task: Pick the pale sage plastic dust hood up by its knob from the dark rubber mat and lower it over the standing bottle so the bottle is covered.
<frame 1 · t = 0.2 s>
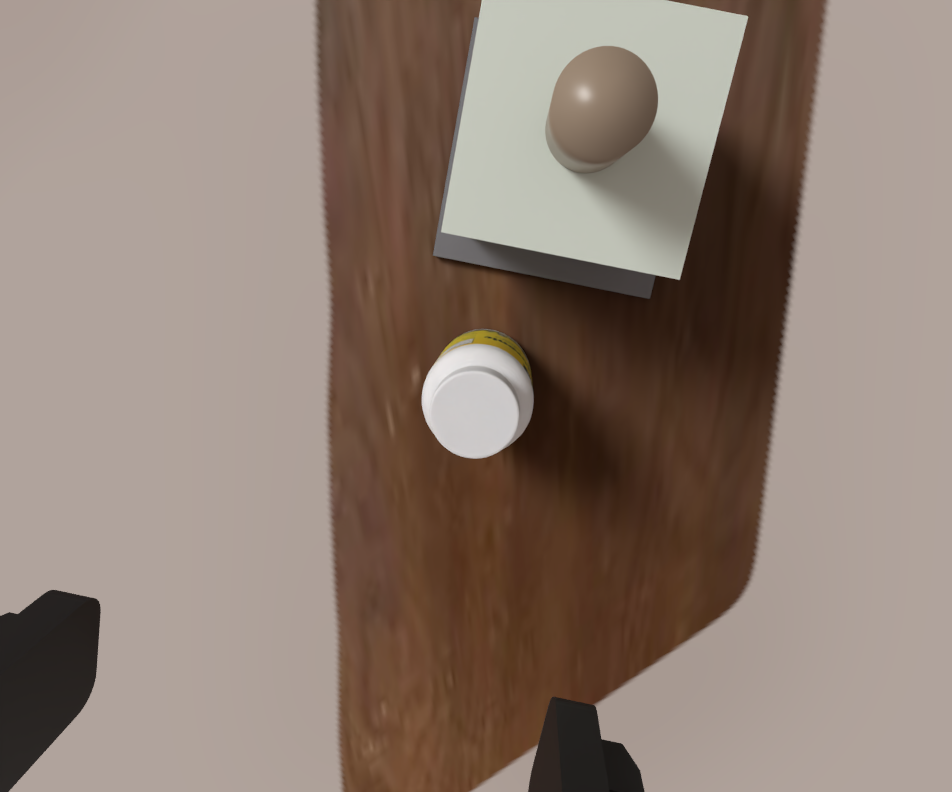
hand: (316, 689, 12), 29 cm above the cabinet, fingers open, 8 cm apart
dust hood: (565, 163, 36), point 1 cm above the cabinet, touching mat
mat: (564, 164, 37), on the cabinet
supplement bottle: (484, 373, 40), on the cabinet
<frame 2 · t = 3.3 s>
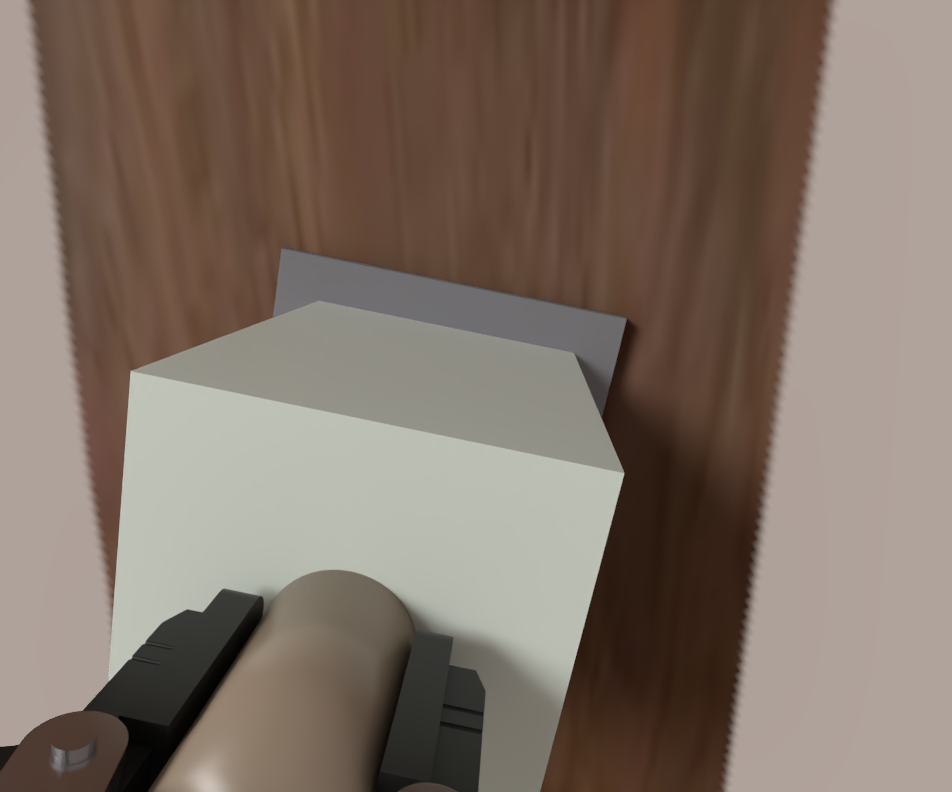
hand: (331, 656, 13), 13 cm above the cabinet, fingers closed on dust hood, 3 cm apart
dust hood: (423, 447, 25), point 1 cm above the cabinet, touching gripper, mat
mat: (425, 442, 26), on the cabinet
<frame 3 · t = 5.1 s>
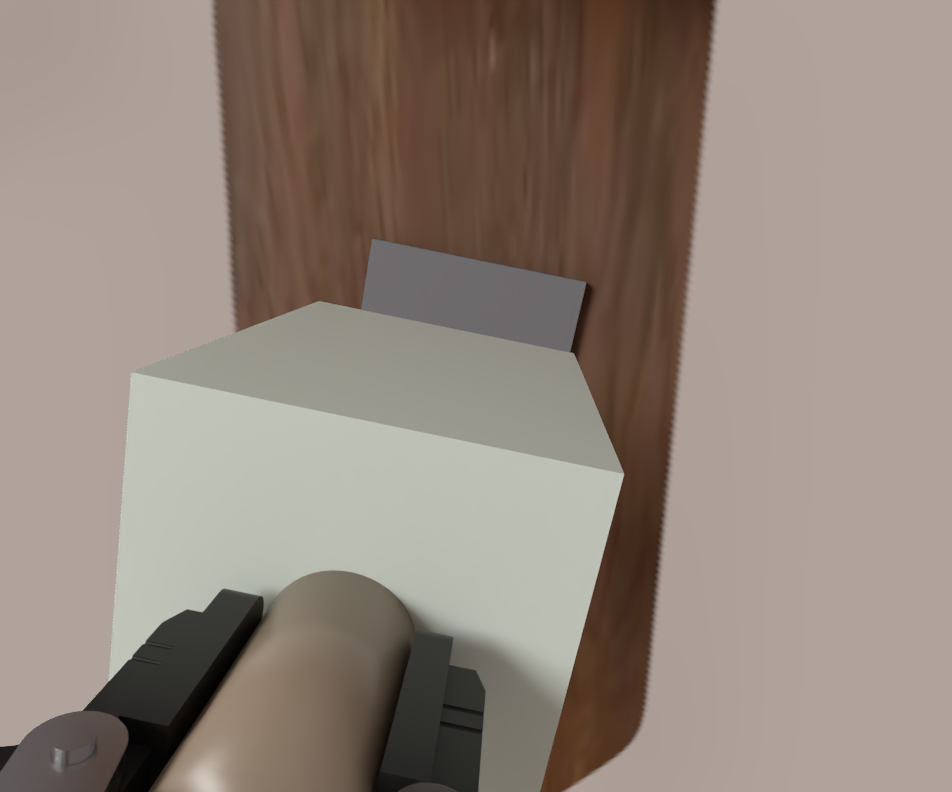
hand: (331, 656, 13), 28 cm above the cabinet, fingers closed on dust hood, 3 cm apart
dust hood: (423, 448, 25), point 16 cm above the cabinet, touching gripper
mat: (459, 363, 40), on the cabinet
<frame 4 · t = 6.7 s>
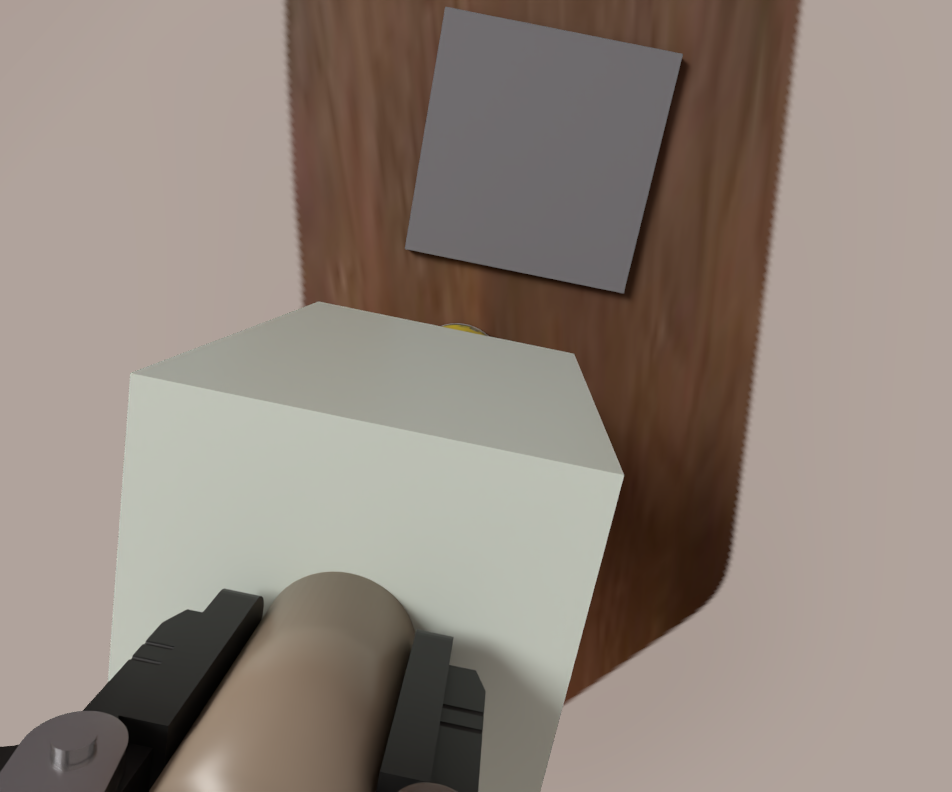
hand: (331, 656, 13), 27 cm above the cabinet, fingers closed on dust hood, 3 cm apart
dust hood: (423, 448, 25), point 15 cm above the cabinet, touching gripper
mat: (537, 156, 36), on the cabinet
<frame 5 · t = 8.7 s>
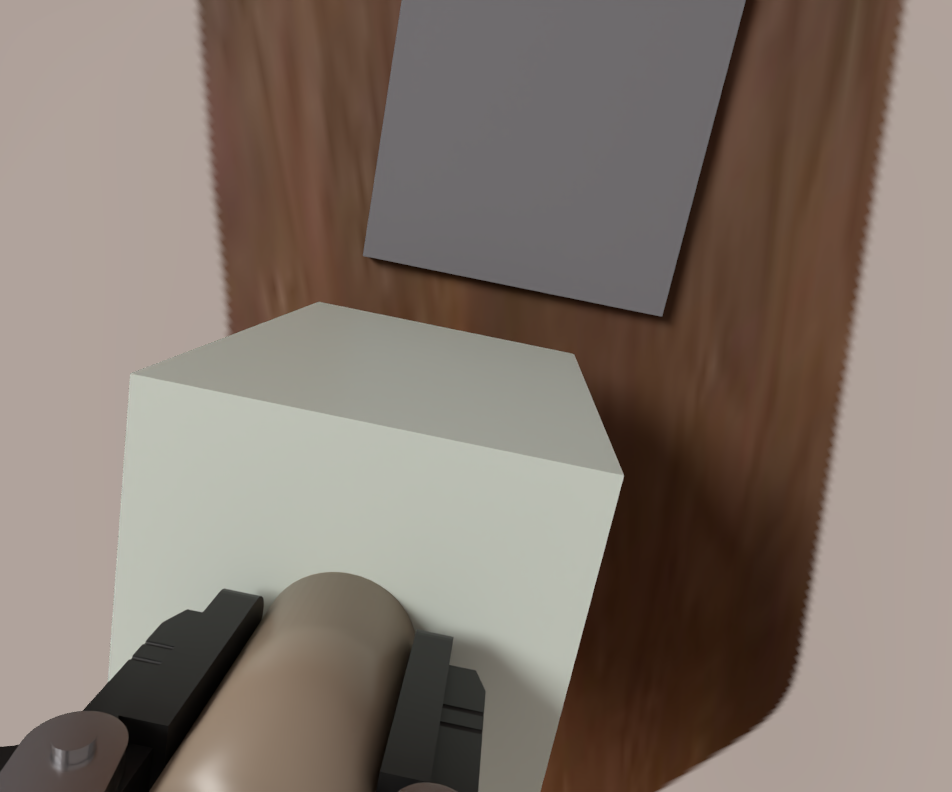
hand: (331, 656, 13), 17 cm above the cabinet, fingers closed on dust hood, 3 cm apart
dust hood: (423, 449, 25), point 4 cm above the cabinet, touching gripper
mat: (544, 128, 26), on the cabinet
when the fingers open (14 cm above the cabinet, at t = 10.3 s): dust hood drops 2 cm, on the cabinet.
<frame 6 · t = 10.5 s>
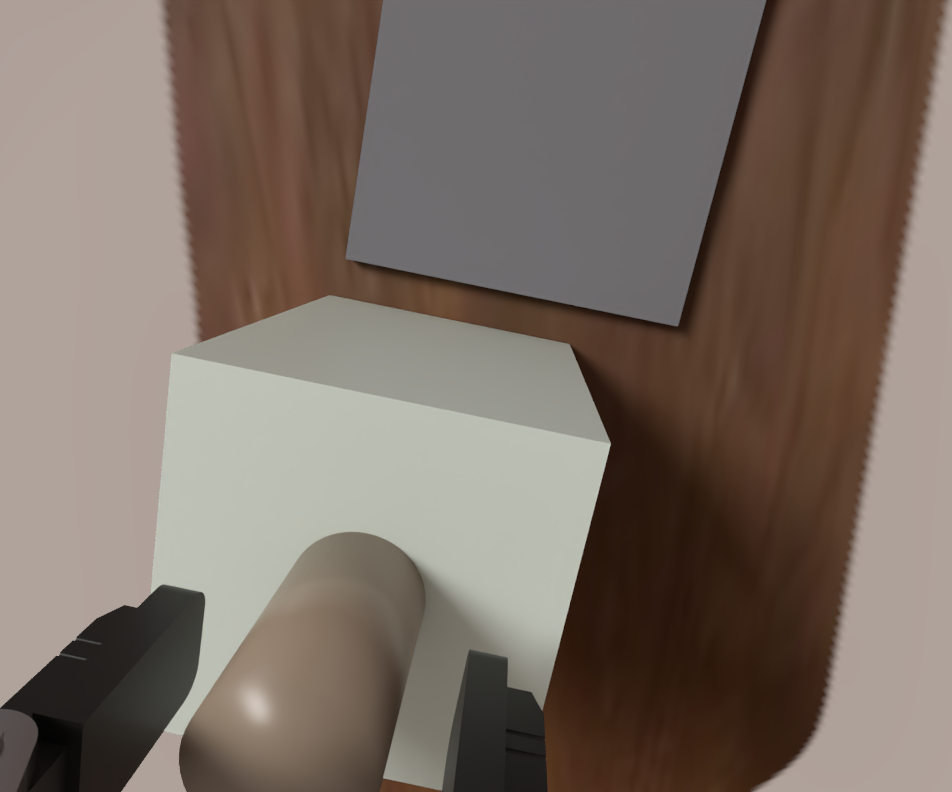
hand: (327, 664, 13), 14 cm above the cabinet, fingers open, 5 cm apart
dust hood: (428, 434, 27), on the cabinet
mat: (547, 117, 24), on the cabinet
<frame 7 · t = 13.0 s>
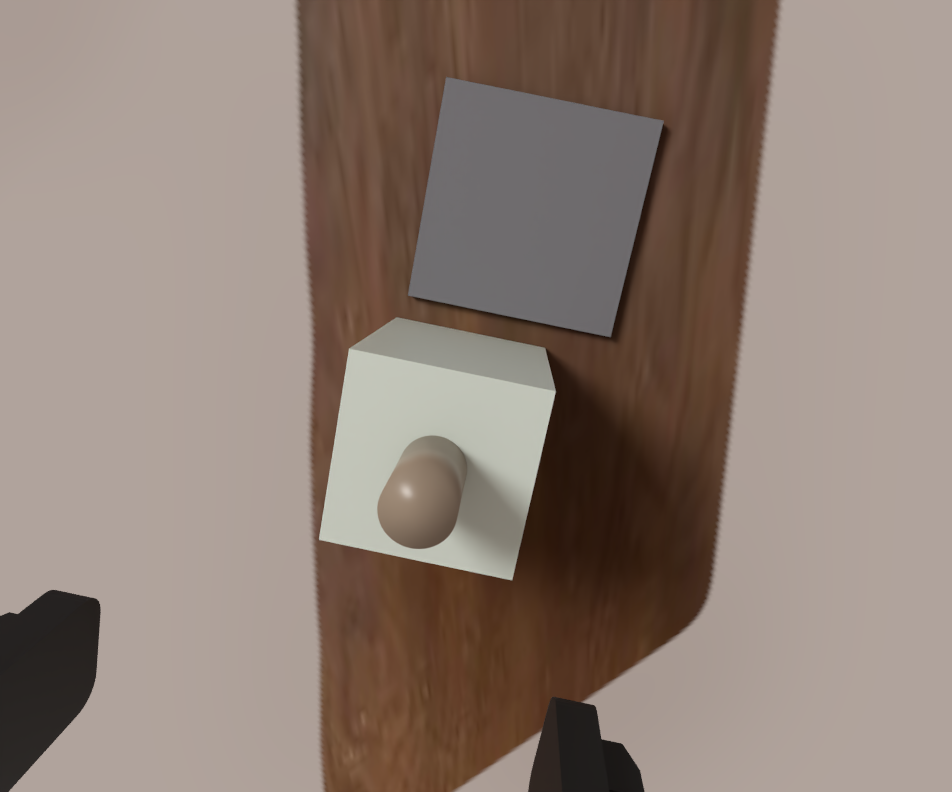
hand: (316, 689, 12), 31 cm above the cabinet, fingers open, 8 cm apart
dust hood: (456, 404, 42), on the cabinet
mat: (530, 211, 40), on the cabinet
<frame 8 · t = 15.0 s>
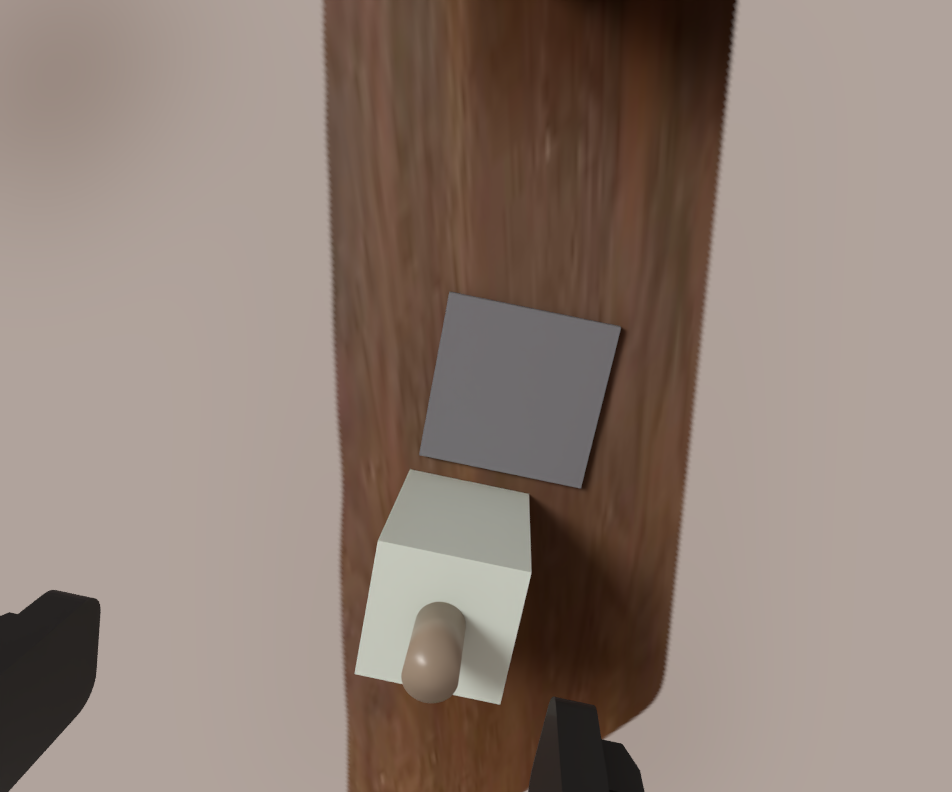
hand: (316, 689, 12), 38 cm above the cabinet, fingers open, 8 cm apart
dust hood: (458, 536, 53), on the cabinet
mat: (517, 391, 50), on the cabinet
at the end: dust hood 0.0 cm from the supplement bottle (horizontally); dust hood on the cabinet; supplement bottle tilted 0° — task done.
